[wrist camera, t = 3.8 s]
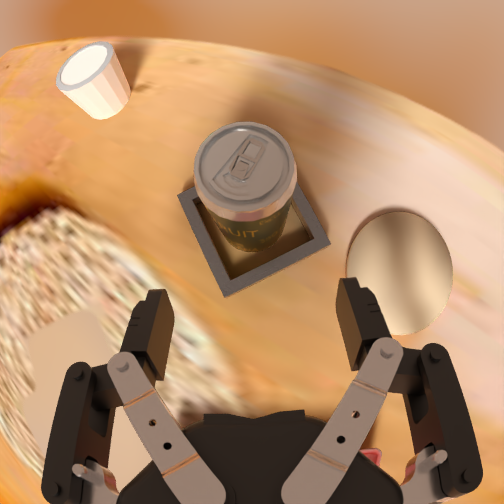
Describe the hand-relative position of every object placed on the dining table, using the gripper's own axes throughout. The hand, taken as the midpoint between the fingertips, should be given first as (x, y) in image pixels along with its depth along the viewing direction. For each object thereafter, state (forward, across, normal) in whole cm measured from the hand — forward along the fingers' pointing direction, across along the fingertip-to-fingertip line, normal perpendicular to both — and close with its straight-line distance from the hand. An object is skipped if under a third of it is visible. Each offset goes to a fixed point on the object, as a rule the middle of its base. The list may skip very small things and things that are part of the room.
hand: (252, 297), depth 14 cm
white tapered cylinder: (+24, +16, -8) cm, 30 cm away
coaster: (+9, -13, +7) cm, 17 cm away
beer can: (+13, 0, +4) cm, 13 cm away
